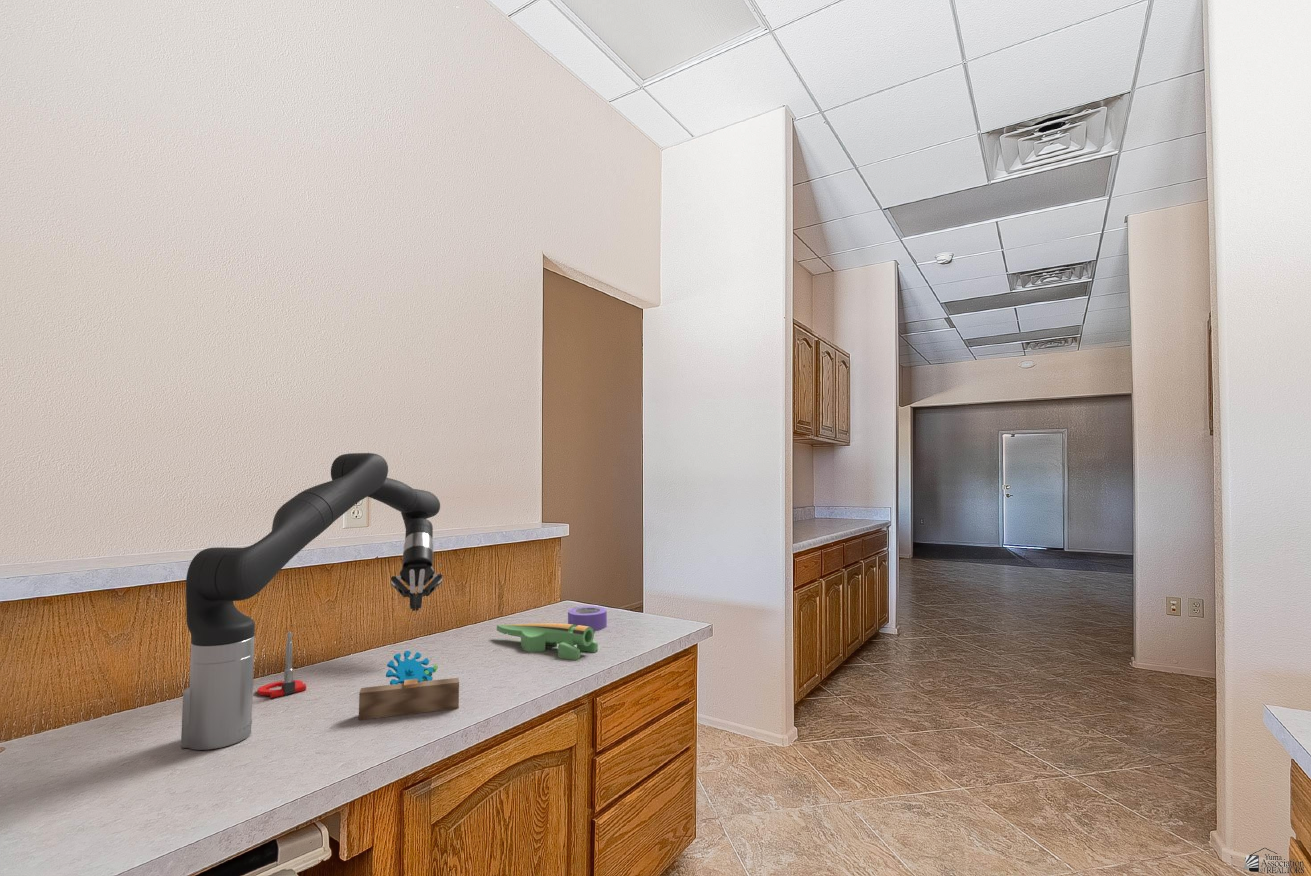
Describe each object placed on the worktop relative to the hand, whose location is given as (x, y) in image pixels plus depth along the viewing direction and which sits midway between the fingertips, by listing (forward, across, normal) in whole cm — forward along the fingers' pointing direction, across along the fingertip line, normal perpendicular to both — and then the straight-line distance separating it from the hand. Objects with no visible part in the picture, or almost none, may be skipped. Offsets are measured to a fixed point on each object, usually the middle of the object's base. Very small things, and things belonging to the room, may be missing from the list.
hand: (415, 608), depth 153 cm
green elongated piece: (+7, +32, +12) cm, 34 cm away
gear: (+24, 0, -5) cm, 24 cm away
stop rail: (+33, 0, -14) cm, 36 cm away
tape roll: (-6, +49, +24) cm, 54 cm away
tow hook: (+18, -26, +2) cm, 32 cm away
